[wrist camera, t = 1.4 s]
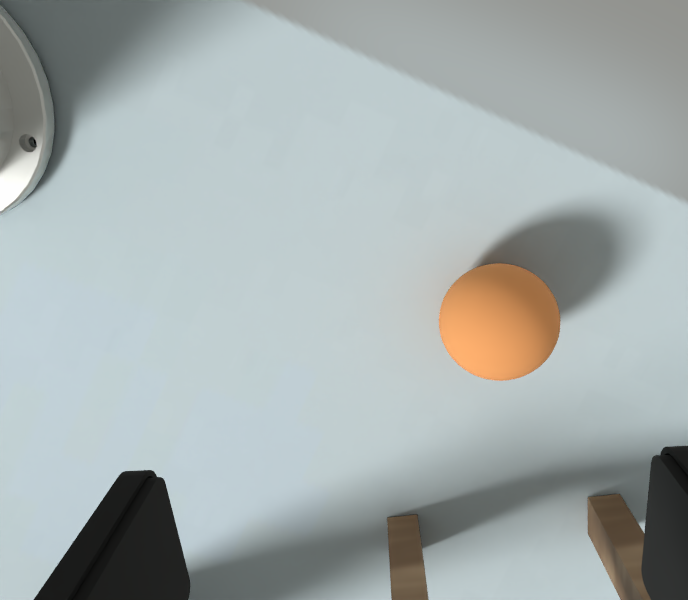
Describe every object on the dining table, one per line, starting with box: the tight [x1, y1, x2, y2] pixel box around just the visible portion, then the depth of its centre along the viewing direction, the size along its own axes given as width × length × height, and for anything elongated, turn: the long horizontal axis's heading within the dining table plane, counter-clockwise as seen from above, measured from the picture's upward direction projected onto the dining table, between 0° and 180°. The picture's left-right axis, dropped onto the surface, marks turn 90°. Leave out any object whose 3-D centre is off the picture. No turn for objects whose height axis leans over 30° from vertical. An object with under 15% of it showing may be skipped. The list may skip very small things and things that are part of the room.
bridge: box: [387, 494, 651, 600], centre depth 33 cm, size 3×15×10 cm, turn 99°
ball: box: [439, 263, 560, 381], centre depth 29 cm, size 6×6×6 cm
